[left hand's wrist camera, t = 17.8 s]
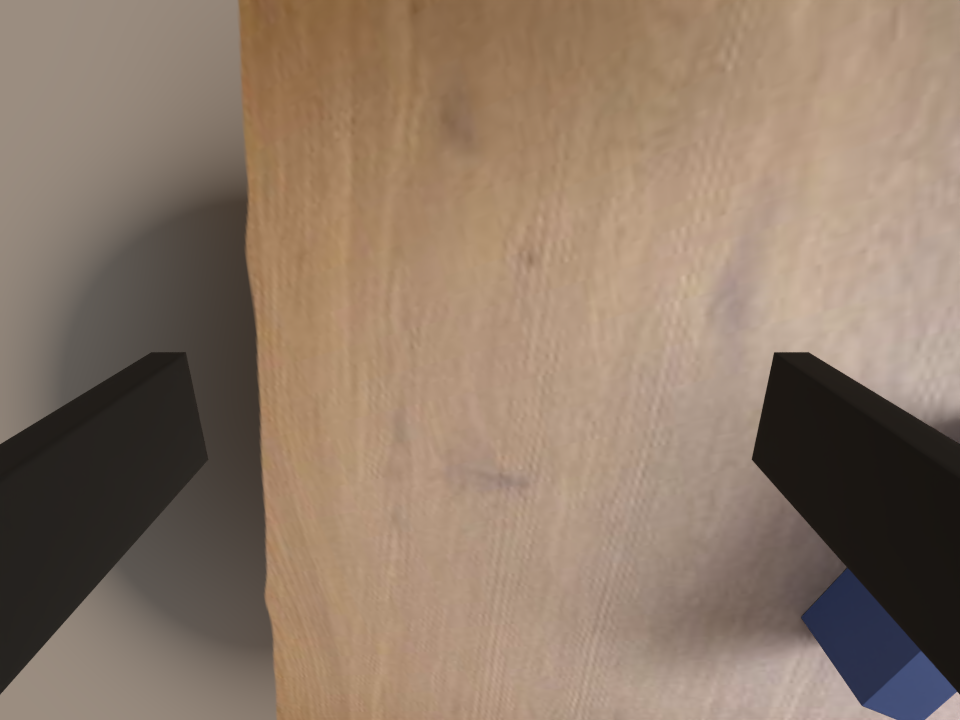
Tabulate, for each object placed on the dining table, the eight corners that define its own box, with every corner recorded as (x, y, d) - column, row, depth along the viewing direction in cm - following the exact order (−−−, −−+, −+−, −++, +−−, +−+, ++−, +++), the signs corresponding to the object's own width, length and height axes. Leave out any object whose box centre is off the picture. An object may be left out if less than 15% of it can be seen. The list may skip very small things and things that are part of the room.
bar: (991, 412, 44) (1110, 473, 36) (1043, 440, 45) (1170, 506, 36) (800, 617, 52) (861, 706, 43) (847, 637, 53) (916, 727, 44)
